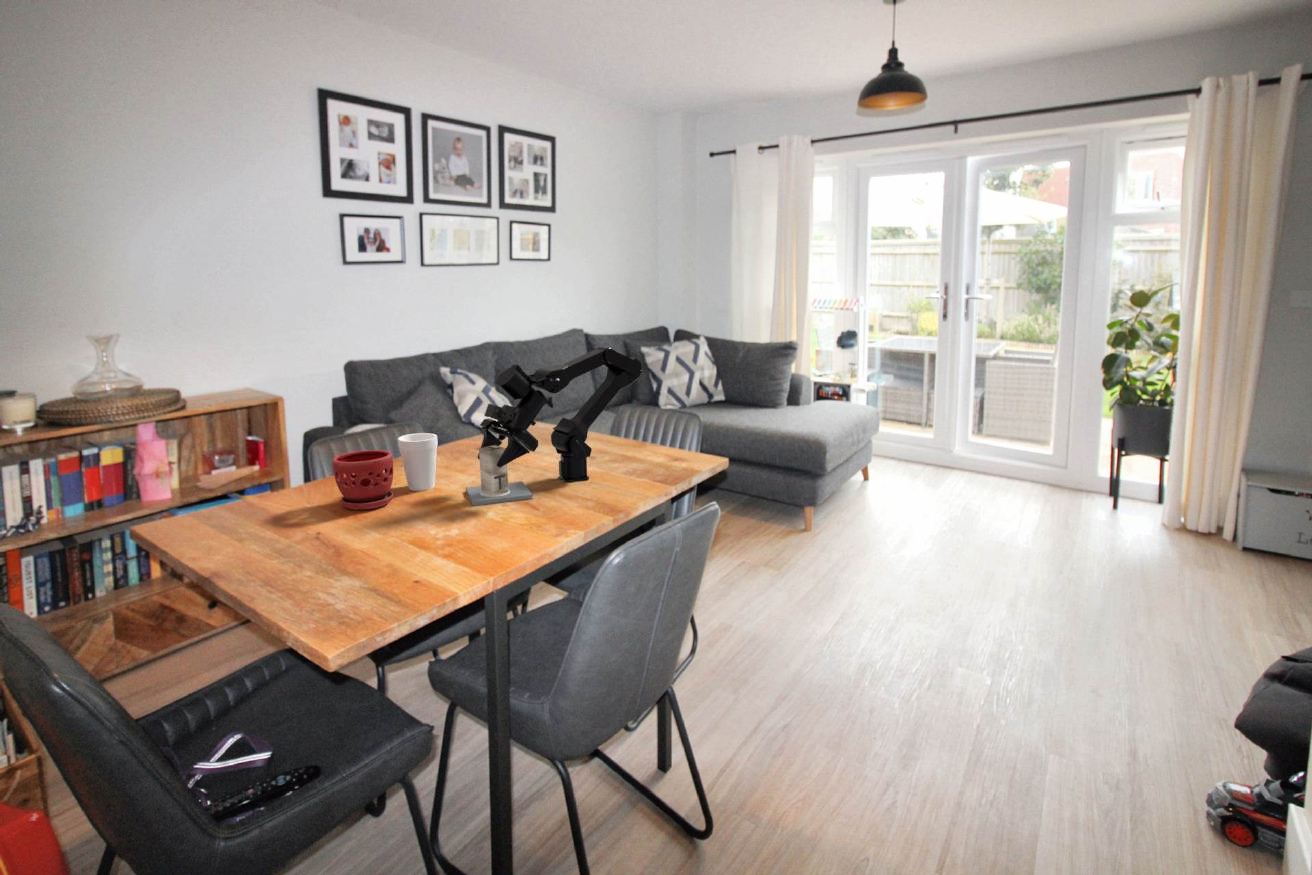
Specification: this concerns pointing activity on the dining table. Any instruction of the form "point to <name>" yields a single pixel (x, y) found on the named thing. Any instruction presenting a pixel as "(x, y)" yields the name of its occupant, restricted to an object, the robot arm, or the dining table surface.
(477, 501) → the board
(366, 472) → the plant pot
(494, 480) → the letter block
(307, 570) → the dining table surface
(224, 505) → the dining table surface
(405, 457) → the foam cup
